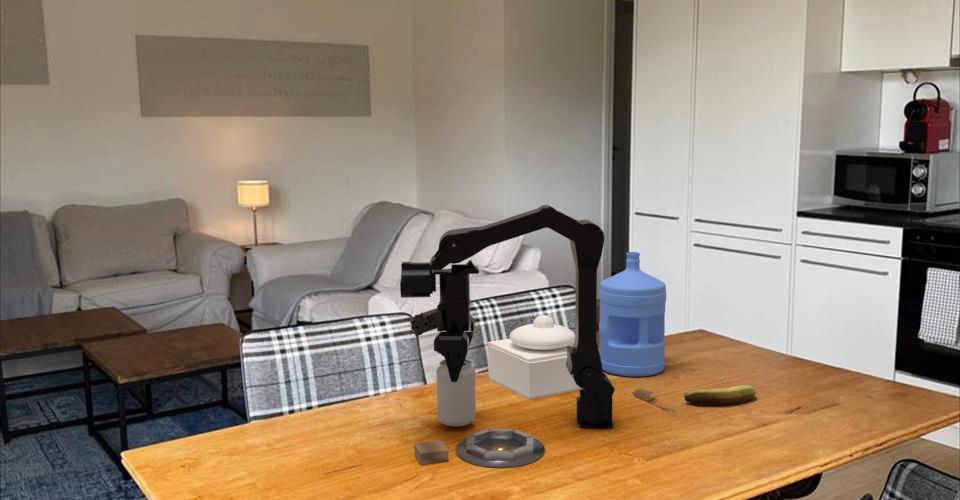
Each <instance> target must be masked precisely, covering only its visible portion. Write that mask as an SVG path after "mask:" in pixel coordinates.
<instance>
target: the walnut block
mask: <svg viewBox="0 0 960 500" xmlns="http://www.w3.org/2000/svg"><path fill="white" fill-rule="evenodd" d="M413 448H414V456H415V458H416V459H417V461H418V463H419V465H429V464H437V463H445V462H449V449H448V448H447V446H446V445H445V442H443V440H433V441H425V442H424V441H423V442H414V447H413Z"/></svg>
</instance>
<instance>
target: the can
mask: <svg viewBox="0 0 960 500" xmlns="http://www.w3.org/2000/svg"><path fill="white" fill-rule="evenodd" d="M472 363H473V362H472V361H471V360H470V359H468V358H465V361H464V364H463V367H462V369H461V372H460V375H459V378H458V380H457V382H451V379H450V375H449V372H448V368H447V364H446V361H445V359H443V360H440V361H439V366H438V367H437V369H436V409H437V410H436V411H437V412H436V413H437V415H436V416H437V417H436V418H437V419H438V420H439V421H440V422H441V423H442V424H443V425H445V426H450V427H463V426H467V425H469V424H471V423H472V421H473V420H475V419H476V417H477V416H476V415H477V413H476V412H477V411H476V409H477V408H476V406H477V403H476V402H477V401H476V368H475V367H474V366H473V365H472Z"/></svg>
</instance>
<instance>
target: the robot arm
mask: <svg viewBox="0 0 960 500" xmlns="http://www.w3.org/2000/svg"><path fill="white" fill-rule="evenodd" d="M547 228H548V229H550V230H551V231H553V232H555V233H557V234H559V235H561V236H563V237H564V238H567V239H569V243H570V249H571V253H572V258H573V263H574V267H575V340H574V344H573V347H570V346H566V351H567V362H566V364H565V365H566V367H567V369H568V371H569V373H570V375H572V377H573V379H574V381H575V383H576V384H577V385H578V386H579V387H580V388H582V389H580V390H578V391H579V393H578V395H579V396H577V397H576V399H575V401H576V403H575V405H576V408H575V409H576V411H575V412H576V413H575V415H576V416H575V417H576V422H578V425H579V428H594V429H595V428H601V429H602V428H605V429H606V428H607V429H608V428H609V429H611V428H613V429H614V422H613V397H614V396H613V395H614V393H615V391H616V389H615V386H613V383H612V381H610V379H609V377H608V376H607V375H606V374H605V372H604V370H603V369H602V363H601V358H600V354H599V346H598V342H597V337H598V336H597V334H598V333H597V332H598V331H597V330H598V329H597V321H598V320H597V315H598V314H597V311H598V310H597V309H598V308H597V303H598V301H597V299H598V292H597V291H598V274H597V273H598V269H599V264H600V261H601V258H602V254H603V250H604V244H605V243H604V242H605V234H604V231H603V229H602V228H601V227H600V226H599V225H597V224H596V223H594V222H593V221H591V220H589V219H580V220H577V219H575V218H573V217H572V216H569V215H567V214H565V213H563V212H561V211H559V210H557V209H556V208H555V207H553V206H552V205H550V204H542V205H541V206H539V207H537V208H534V209H531V210H528V211H525V212H523V213H519V214H515V215H513V216H510V217H507V218H504V219H501V220H498V221H495V222H492V223H488V224H485V225H480V226H474V227H473V226H471V227H461V228H456V229H455V228H454V229H449V230H446V231H445V232H444V233H443V234H442V235H441V236H440V239H439V242H438V249H437V250H436V252H435V253H434V255H433V256H431V259H430V260H429V261H428V262H424V261H423V262H412V261H411V262H410V261H402V262H401V267H400V268H401V269H400V273H401V275H400V281H399V282H400V283H399V285H400V286H399V287H400V291H399V292H400V298H402V299H410V298H411V299H412V298H414V299H415V298H431V295H433V294H434V293H436V292H437V275H439V276H438V277H439V302H438V304H437V305H436V307H435V308H432V309H430V310H426V311H423V312H421V313H419V314H415V315H414V316H412V317H411V319H410V320H409V322H410V325H411V326H410V329H411V331H413V333H414V335H415V337H419V336H422V335H423V334H426V333H427V332H430V331H433V330H435V329H436V332H439V333H438V334H437V335H436V336H435V337H434V340H433V352H436V353H437V354H440V355H441V356H442V357H443V358H444V360H445V361H446V364H447V368H448V372H449V375H450V379H451V382H457V380H458V378H459V375H460V372H461V369H462V367H463V364H464V361H465V359H467V355H468V352H469V350H470V346H471V343H472V340H473V337H474V335H475V334H474V332H475V329H476V319H475V318H474V317H473V316H472V315H471V306H472V300H471V296H470V295H471V294H470V293H471V292H470V291H471V289H470V287H471V286H470V283H471V282H470V275H478V274H479V273H480V269H479V267H478V266H476V265H475V264H474V262H473V261H472V260H471V259H469V258H472V257H473V256H476V255H477V254H479V253H480V252H482V251H483V250H485V249H487V248H488V247H490V246H494V245H497V244H500V243H504V242H506V241H508V240H512V239H515V238H518V237H521V236H524V235H527V234H530V233H533V232H537V231H540V230H543V229H547ZM466 260H468V261H467V262H466V263H462V262H464V261H466ZM460 263H462V264H460ZM450 264H451V265H450ZM449 265H450V266H451V267H450V268H446V267H447V266H449ZM433 292H434V293H433Z"/></svg>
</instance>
